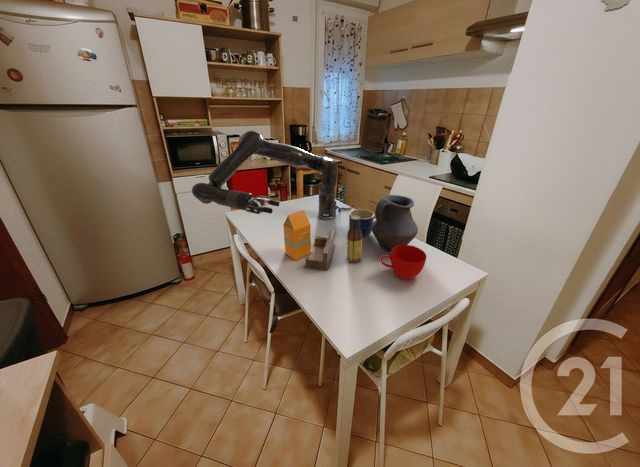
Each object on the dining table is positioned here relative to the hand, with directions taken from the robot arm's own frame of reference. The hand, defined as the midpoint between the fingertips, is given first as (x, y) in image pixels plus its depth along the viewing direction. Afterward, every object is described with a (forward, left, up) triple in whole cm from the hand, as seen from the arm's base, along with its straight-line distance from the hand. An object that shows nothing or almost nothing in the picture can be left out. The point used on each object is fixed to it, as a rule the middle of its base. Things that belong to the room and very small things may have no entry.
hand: (275, 207), depth 110 cm
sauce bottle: (-25, +23, -21) cm, 40 cm away
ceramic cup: (-35, +41, -22) cm, 58 cm away
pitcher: (-47, +23, -22) cm, 57 cm away
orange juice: (-6, +6, -22) cm, 23 cm away
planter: (-43, +5, -22) cm, 48 cm away
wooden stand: (-14, +13, -21) cm, 29 cm away
